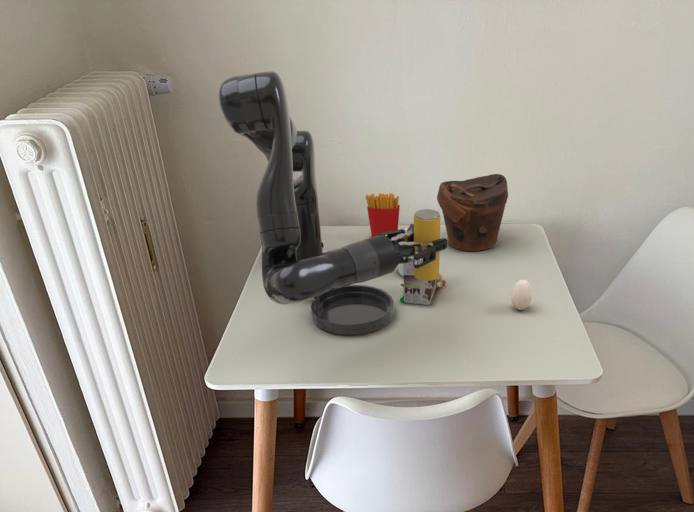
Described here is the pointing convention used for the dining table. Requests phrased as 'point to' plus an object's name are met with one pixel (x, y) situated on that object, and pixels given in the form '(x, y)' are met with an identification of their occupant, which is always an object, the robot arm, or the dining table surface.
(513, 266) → the dining table surface
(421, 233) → the can
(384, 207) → the french fries
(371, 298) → the pan
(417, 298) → the coffee box
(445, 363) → the dining table surface
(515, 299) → the egg
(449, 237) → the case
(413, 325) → the dining table surface
